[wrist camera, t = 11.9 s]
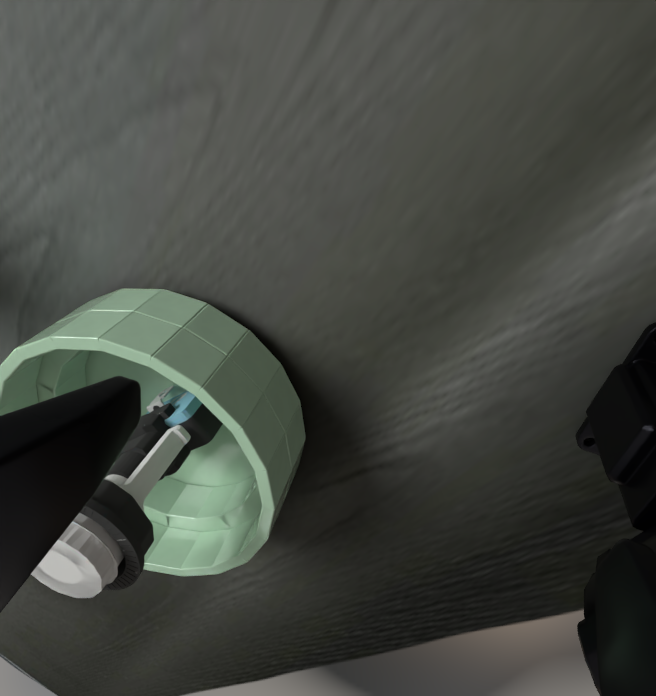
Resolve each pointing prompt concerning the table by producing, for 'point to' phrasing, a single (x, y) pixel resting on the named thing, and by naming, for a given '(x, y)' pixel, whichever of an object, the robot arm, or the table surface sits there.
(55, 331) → the bowl
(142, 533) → the push button
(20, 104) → the table surface
